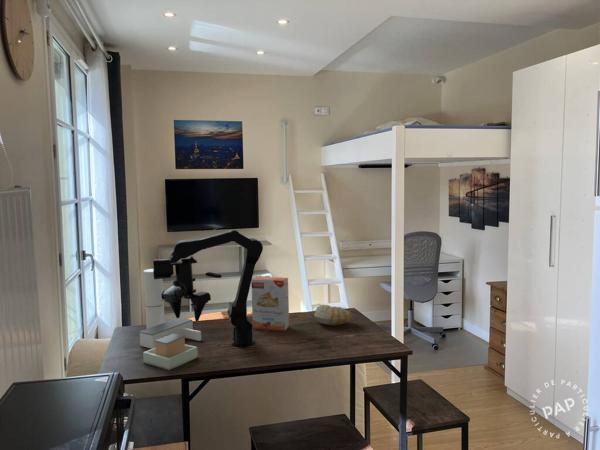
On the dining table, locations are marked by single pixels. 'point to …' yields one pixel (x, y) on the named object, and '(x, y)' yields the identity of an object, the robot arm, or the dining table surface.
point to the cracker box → (270, 303)
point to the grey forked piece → (169, 331)
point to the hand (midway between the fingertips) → (187, 319)
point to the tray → (171, 362)
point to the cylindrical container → (153, 299)
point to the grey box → (170, 345)
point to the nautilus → (332, 315)
